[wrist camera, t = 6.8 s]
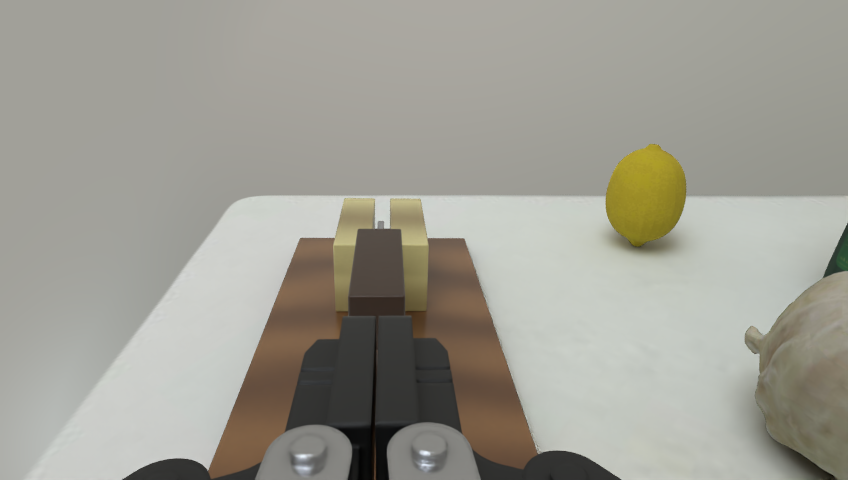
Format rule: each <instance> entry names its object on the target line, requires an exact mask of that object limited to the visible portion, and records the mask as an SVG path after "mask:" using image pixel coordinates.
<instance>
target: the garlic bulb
mask: <svg viewBox="0 0 848 480" xmlns="http://www.w3.org/2000/svg"><path fill="white" fill-rule="evenodd" d="M745 344H746V345H747V347H748V348H749V349H750V350H751V351H752V352H753V353H754V354H757V353H759V354H760V363H759V371H760V375H759V376H758V384H757V389H756V392H755V398H756V402H757V404H758V406H759V407H760V409H761V410H762V412H763V413H764V416H765V420H766V429H767V431H768V433H769V434H770V436H771V437H772V438H773V439H774V440H775V441H777V442H778V443H780V444H783V445H785V446H787V447H789V448H791V449H793V450H795V451H797V452H799V453H800V454H802V455H803V456H805V457H806V458H808V459H809V460H810V461H812V462H813V463H815V464H816V465H817V466H818V467H820V468H821V469H823V470H824V471H826V472H828V473H830V474H832V475H834V477H835V479H836V480H848V271H844V272H839V273H835V274H832V275H830V276H827V277H825V278H822V279H821V280H820V281H818V282H817V283H815V284H814V285H813V286H811V287H810V288H808V289H807V290H805V291H804V292H803V293H802V294H801V295H800V296H799V297H798V298H797V299H796V300H795V301H794V302H793V303H791V304H790V305H789V306H788V307H787V308H786V309H785V310H784V312H783V313H782V314H781V315H780V316H779V317H778V319H777V320H776V322H775V323H774V325H773V326H772V328H771V330H770V331H769V333H767V334H766V335H764V336H763V335H762V334H761V333H760V332H759V331H758V330H757V329H756V328H755V327H753V326H751V327H750V328H749V329H748V330H747V331H746V333H745Z"/></svg>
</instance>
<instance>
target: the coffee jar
mask: <svg viewBox="0 0 848 480" xmlns="http://www.w3.org/2000/svg"><path fill="white" fill-rule="evenodd" d="M844 271H848V223H847V226H846V228H845V230H844V232H843V234H842V236H841V238H840V240H839V242H838V245H837V247H836V249H835V251H834V253H833V255H832V257H831V260H830V262H829V264H828V267H827V269H826V271H825V274H824V276H823V278H825V277H827V276H830V275H832V274H835V273H839V272H844Z"/></svg>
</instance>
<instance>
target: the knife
mask: <svg viewBox="0 0 848 480" xmlns="http://www.w3.org/2000/svg"><path fill="white" fill-rule="evenodd" d="M348 316H376V350H377V353H378V323H379V316H405V282H404V266H403V249H402V233H401V229H384V221H378V229H358V230H357V237H356V244H355V251H354V258H353V265H352V272H351V279H350V286H349V293H348Z"/></svg>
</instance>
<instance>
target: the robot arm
mask: <svg viewBox="0 0 848 480" xmlns="http://www.w3.org/2000/svg"><path fill="white" fill-rule="evenodd" d="M375 458H376V480H621V479H620V478H618V477H617V476H615V475H613V474H612V473H610V472H609V471H607V470H606V469H604V468H603V467H601V466H600V465H598V464H597V463H595V462H593V461H592V460H590V459H588V458H586V457H584V456H581V455H579V454H576V453H572V452H567V451H548V452H543V453H541V454H538V455H536V456H534V457H533V458H531V459H530V460H529V461H528V462H527V464H526V465H525V467H524V469H520V468H515V467H511V466H507V465H502V464H499V463H495V462H493V461H490V460H488V459H486V458H484V457H483V456H481V455H479V454H478V453H477V452H475V451H474V450H473V449H472V448H471V446H470V443H469V442H468V440H467V439H466V437H465V436H464V435H463V433H462V429H461V424H460V418H459V412H458V407H457V401H456V395H455V390H454V384H453V378H452V373H451V370H450V361H449V356H448V351H447V350H446V349H445V348H444V346H443V345H442V344H441V343H440V342H439V341H438V340H437V339H436V338H413V328H412V316H379V323H378V353H377V352H376V316H343V318H342V324H341V330H340V337H339V339H318V340H317V341H316V342H315V343H314V344H313V345H312V346H311V347H310V348H309V349H308V350H307V351H306V352H305V353H304V357H303V361H302V365H301V371H300V373H299V377H298V381H297V385H296V389H295V393H294V397H293V401H292V405H291V409H290V413H289V417H288V421H287V425H286V429H285V432H284V433H283V434H282V435H280V436H279V437H277V438H276V439H275V440H274V441H273V442H272V443H271V444H270V446H269V447H268V449H267V451H266V453H265V455H264V458H263V460H262V462H260V463H258V464H256V465H254V466H252V467H250V468H248V469H245V470H242V471H239V472H235V473H232V474H228V475H224V476H221V477H217V478H213V479H211V478H210V474H209V472H208V471H207V469H206V468H205V467H204V466H203V465H202V464H200V463H198V462H196V461H193V460H189V459H167V460H162V461H158V462H155V463H152V464H149V465H147V466H145V467H143V468H141V469H139V470H137V471H135V472H134V473H132V474H131V475H129V476H127V477H126V478H124V479H123V480H374V469H375Z"/></svg>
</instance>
